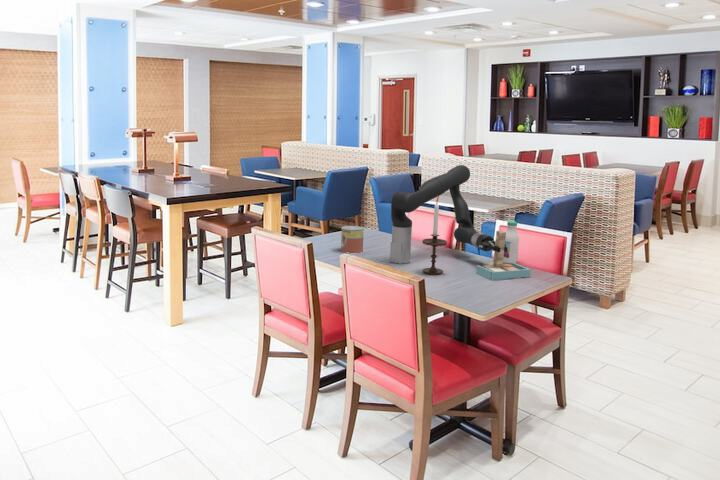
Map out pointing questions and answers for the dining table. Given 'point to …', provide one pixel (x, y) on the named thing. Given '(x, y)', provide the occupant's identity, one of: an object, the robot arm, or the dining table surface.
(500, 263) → the wooden tower
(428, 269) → the candlestick
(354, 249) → the canned food
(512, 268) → the tile terracotta
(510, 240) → the milk bottle
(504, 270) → the tile cream
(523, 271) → the box
